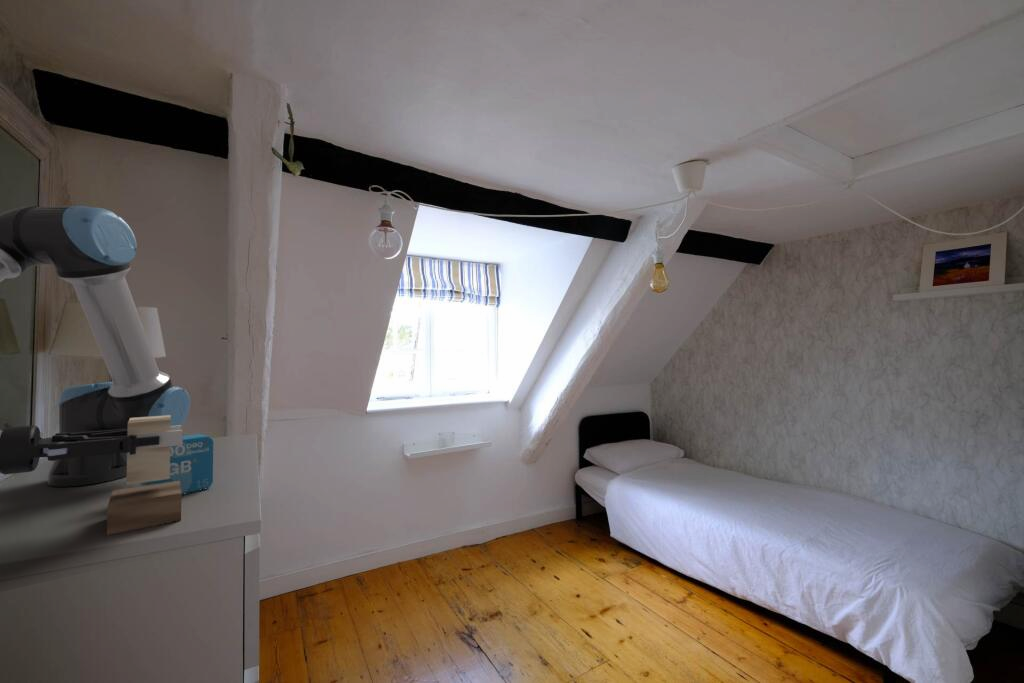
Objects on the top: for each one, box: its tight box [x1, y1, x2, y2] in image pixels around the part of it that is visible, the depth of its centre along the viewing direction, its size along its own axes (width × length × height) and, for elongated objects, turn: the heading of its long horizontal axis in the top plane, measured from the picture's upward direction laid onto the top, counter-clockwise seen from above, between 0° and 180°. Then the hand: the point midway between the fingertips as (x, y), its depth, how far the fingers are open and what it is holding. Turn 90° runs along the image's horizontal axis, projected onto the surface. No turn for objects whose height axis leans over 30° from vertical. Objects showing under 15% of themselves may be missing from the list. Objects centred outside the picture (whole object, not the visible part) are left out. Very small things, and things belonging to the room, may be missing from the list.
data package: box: [140, 433, 214, 495], centre depth 96 cm, size 12×4×12 cm, turn 144°
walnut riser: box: [106, 481, 182, 536], centre depth 81 cm, size 10×10×5 cm
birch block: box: [126, 415, 171, 486], centre depth 81 cm, size 6×6×11 cm
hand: (181, 434), depth 84 cm, fingers closed on birch block, 6 cm apart
